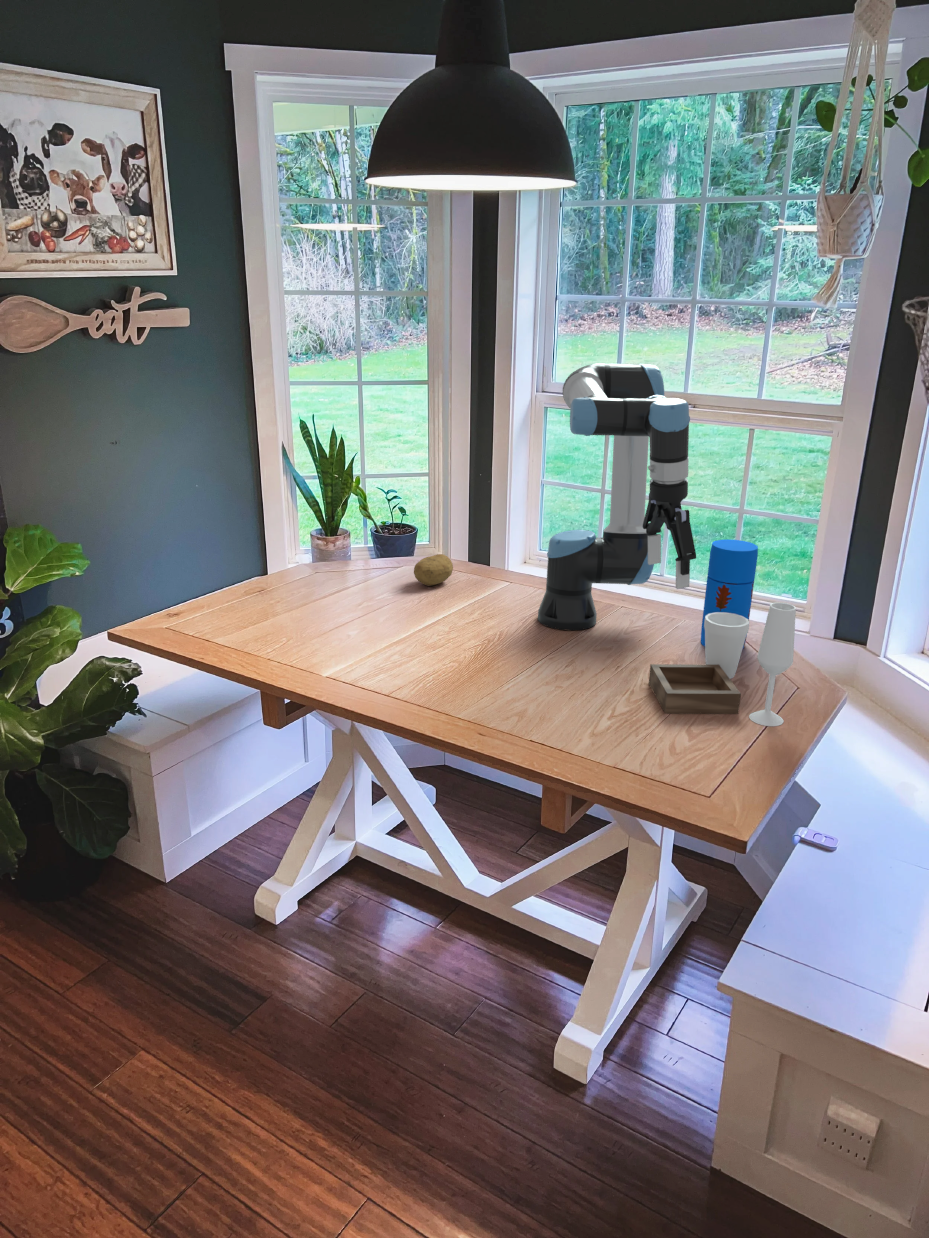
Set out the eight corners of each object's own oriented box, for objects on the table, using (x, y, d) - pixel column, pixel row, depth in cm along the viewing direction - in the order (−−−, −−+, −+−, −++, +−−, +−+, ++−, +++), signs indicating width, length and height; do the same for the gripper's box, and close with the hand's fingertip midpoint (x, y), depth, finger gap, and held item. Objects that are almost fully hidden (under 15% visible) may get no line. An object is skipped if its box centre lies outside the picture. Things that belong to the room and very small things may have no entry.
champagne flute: (745, 710, 183) (761, 599, 175) (779, 712, 183) (796, 601, 175) (752, 725, 177) (768, 611, 169) (787, 727, 177) (805, 613, 168)
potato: (404, 586, 256) (403, 560, 253) (433, 575, 267) (433, 549, 264) (431, 593, 251) (431, 566, 248) (460, 581, 262) (460, 555, 259)
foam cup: (695, 677, 199) (702, 622, 194) (701, 662, 207) (707, 610, 202) (739, 684, 195) (747, 629, 191) (744, 669, 204) (751, 616, 199)
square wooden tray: (648, 683, 195) (650, 664, 194) (716, 683, 196) (718, 664, 194) (665, 713, 181) (667, 693, 180) (738, 713, 182) (740, 693, 180)
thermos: (694, 646, 216) (706, 547, 208) (705, 633, 225) (716, 537, 217) (740, 655, 211) (754, 553, 203) (749, 641, 220) (762, 543, 212)
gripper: (626, 464, 189) (627, 557, 199) (679, 500, 167) (677, 601, 177) (659, 459, 190) (659, 551, 200) (716, 493, 169) (712, 594, 178)
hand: (667, 575), depth 188 cm, fingers open, 13 cm apart
